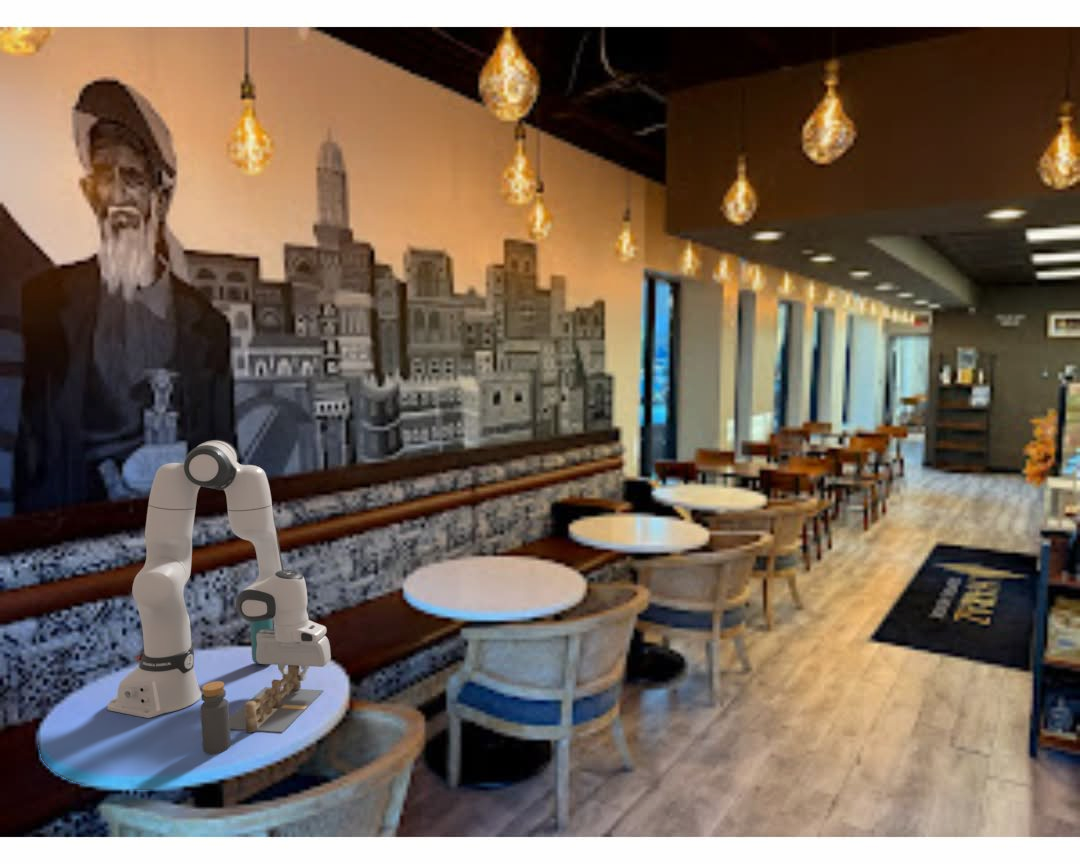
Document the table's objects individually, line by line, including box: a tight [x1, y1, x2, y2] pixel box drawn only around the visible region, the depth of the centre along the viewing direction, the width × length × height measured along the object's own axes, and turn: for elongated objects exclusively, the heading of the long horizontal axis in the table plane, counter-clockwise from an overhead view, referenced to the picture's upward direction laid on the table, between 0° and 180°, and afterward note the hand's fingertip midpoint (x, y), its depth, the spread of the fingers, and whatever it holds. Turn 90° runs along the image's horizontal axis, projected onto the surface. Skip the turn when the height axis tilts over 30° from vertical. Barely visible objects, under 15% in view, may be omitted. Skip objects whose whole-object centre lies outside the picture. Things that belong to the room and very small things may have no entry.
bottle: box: [200, 681, 231, 755], centre depth 165 cm, size 6×6×15 cm
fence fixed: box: [244, 679, 281, 733], centre depth 179 cm, size 2×14×7 cm, turn 171°
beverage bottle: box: [249, 619, 274, 664], centre depth 212 cm, size 6×7×20 cm
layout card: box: [229, 686, 324, 734], centre depth 184 cm, size 17×22×1 cm
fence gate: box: [279, 665, 302, 699], centre depth 191 cm, size 3×10×7 cm, turn 171°
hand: (294, 679), depth 194 cm, fingers closed on fence gate, 3 cm apart
